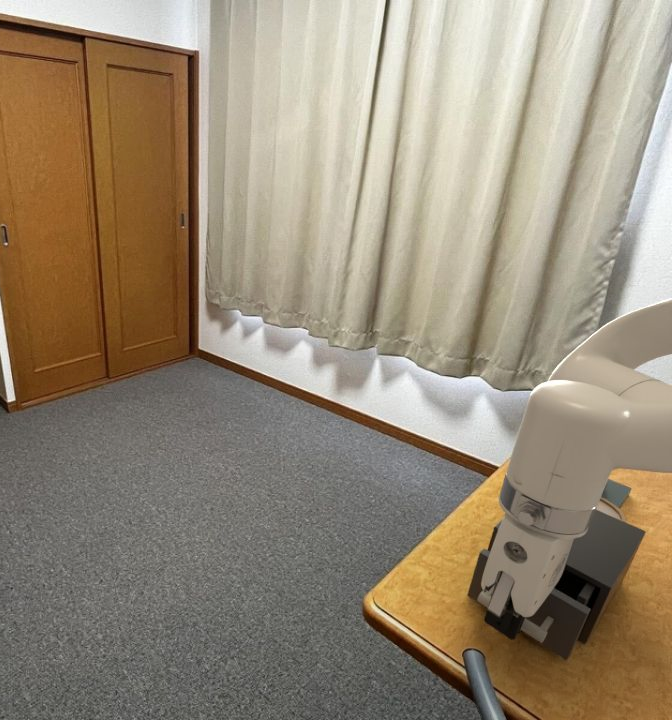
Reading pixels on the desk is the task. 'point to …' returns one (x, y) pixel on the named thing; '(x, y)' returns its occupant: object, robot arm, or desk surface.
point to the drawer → (549, 609)
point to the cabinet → (600, 561)
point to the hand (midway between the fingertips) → (501, 626)
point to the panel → (615, 493)
